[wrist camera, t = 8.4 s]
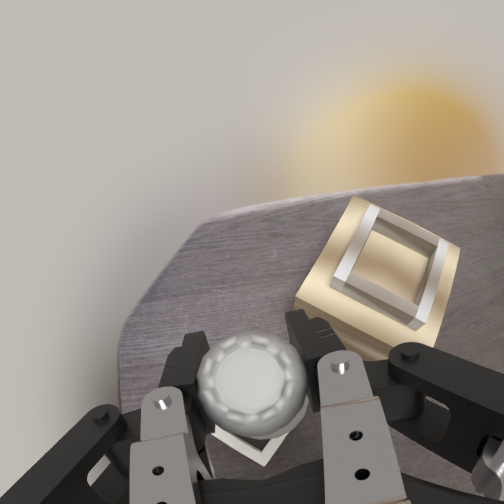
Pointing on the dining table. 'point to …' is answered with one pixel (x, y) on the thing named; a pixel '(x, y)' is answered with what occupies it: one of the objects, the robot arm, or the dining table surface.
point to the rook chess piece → (253, 385)
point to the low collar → (249, 445)
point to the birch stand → (380, 281)
